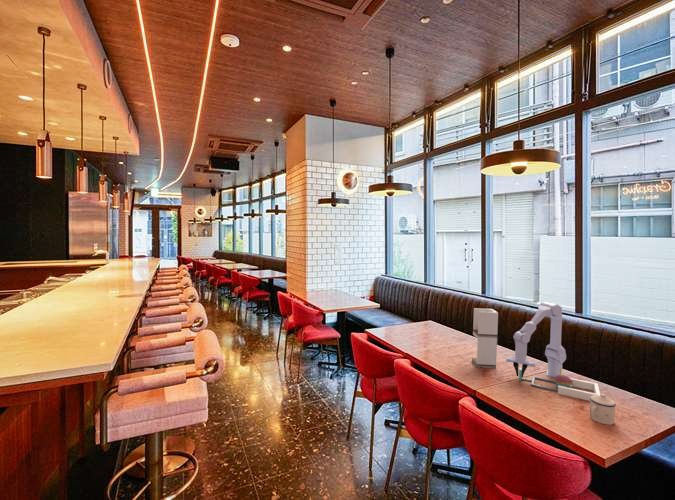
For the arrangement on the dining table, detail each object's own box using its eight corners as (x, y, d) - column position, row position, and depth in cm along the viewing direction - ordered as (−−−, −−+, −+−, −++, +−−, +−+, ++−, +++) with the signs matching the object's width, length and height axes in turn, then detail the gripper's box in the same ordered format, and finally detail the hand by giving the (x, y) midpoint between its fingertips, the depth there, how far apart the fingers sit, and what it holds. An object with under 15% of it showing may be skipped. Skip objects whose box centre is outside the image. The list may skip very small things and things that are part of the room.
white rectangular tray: (558, 382, 191) (558, 375, 191) (597, 390, 182) (597, 383, 181) (557, 394, 177) (558, 386, 177) (600, 403, 168) (600, 395, 167)
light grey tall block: (490, 362, 221) (492, 308, 220) (496, 368, 211) (498, 312, 209) (472, 361, 222) (473, 308, 221) (477, 367, 212) (479, 311, 210)
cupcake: (560, 392, 179) (561, 370, 179) (549, 385, 188) (550, 363, 187) (576, 392, 180) (577, 370, 179) (564, 385, 188) (565, 363, 188)
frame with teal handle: (520, 375, 200) (520, 365, 200) (571, 386, 186) (572, 375, 186) (518, 382, 189) (518, 372, 189) (572, 395, 175) (572, 383, 175)
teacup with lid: (597, 412, 159) (598, 388, 158) (619, 423, 150) (620, 397, 150) (580, 417, 154) (581, 392, 153) (602, 428, 146) (604, 402, 145)
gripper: (505, 352, 194) (504, 375, 195) (535, 357, 186) (533, 381, 187) (507, 348, 200) (506, 371, 201) (535, 354, 192) (534, 377, 193)
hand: (519, 376), depth 194 cm, fingers closed
